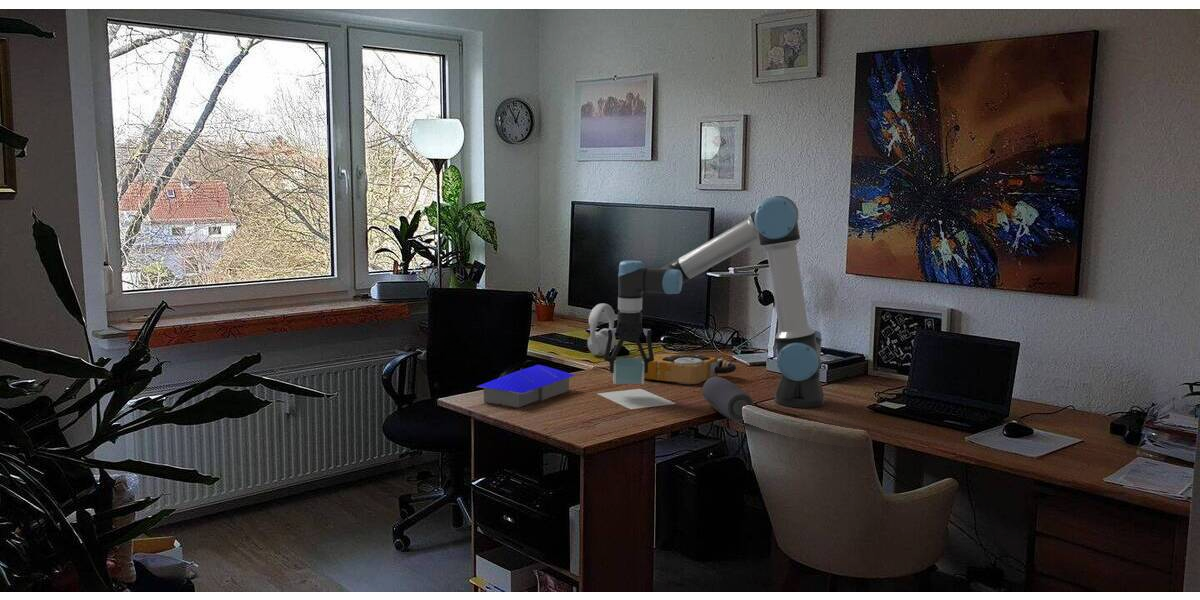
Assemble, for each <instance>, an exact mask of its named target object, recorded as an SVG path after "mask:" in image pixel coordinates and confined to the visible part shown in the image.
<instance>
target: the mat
mask: <svg viewBox="0 0 1200 600" xmlns="http://www.w3.org/2000/svg"><path fill="white" fill-rule="evenodd" d="M597 395H598V396H601V397H603V398H605V399H607V400H610V401H612V402H614V403H616V404H618V405H621V406H622V407H624V408H627V409H629V410H637V409H645V408H651V407H652V408H653V407H659V406H660V407H661V406H669V405H670V406H671V405H675V404H677V403H676V402H673V401H671V400H669V399H666V398H664V397H661V396H659V395H656V394H654V393H652V392H650V391H647V390H645V389H642V388H635V389H626V390H617V391H608V392H600V393H597Z"/></svg>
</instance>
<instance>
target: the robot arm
mask: <svg viewBox="0 0 1200 600" xmlns="http://www.w3.org/2000/svg"><path fill="white" fill-rule="evenodd" d="M798 221H799V209H798V207H797V205H796V203H795V202H794V201H793V200H792V199H790V198H789V197H787V196H784V195H783V196H782V195H775V196H772V197H771V196H770V197H768V198H766V199H763V201H762V202H760V203H759V204H758V206H757V207H756V210H754V211H752V212H750V213H749V214H748V217H747V219H744V220H743V221H741V222H740V223H737V224H736V225H734V226H732V227H731V228H729V229H727V230H726V231H724V232H722V233H720V234H718V235H717V236H715V237H713V238H711V239H710V240H708V241H706V242H704V243H703V244H701V245H700V246H698V247H696V248H694V249H693V250H691V251H689V252H687V253H685V254H684V255H682V256H680V257H678V258H677V259H675V260H673V261H671V262H669V263H668V264H666V265H664V266H663V267H660V268H651V267H649V268H647V267H644V262H643V261H641V260H631V259H630V260H622V261H620V263H619V265H618V273H617V274H618V275H617V277H618V279H617V283H618V284H617V285H618V288H617V290H618V291H617V292H618V293H617V294H618V295H617V310H618V312H617V325H616V327H615V328H614V327H613V329H610V328H609V327H608V328H607V329H608V330H607V331H608V340H607V345H606V350H605V354H604V355H603V358H604V359H603V360H604V361H605V362H609V372H610V374H612V379H613V380H612V383H613V385H617V384H616V358H617V356H618V354H619V351H620V350H621V348H622V346H623V344H624V342H629V341H630V342H635V343H636V345H637V348H638V350H639V353H640V355H641V358H642V357H643V360H644V362H642V364H643V368H642V374H641V382H640V384H641V385H645V380H644V373H647V372H648V363H649V362H651V361H654V351H653V345H652V333H653V332H652V330H651V329H652V328H645V327H644V328H643V324H642V323H643V312H642V310H643V293H646V294H647V293H648V294H649V293H650V294H665V295H666V294H667V295H679V294H680V293H681V291H682V289H683V288H682V287H683V284H684V283H685V282H687V281H690V279H692V278H694V277H696V276H698V275H700V274H701V273H704V272H706V271H707V270H709V269H711V268H713V267H714V266H716V265H717V264H720V263H721V262H723V261H725V260H726V259H728V258H731V257H732V256H734V255H736V254H738V253H739V252H741V251H743V250H745V249H746V248H748V247H750V246H752V245H754V244H755V243H757V242H759V246H760V247H761V248H763V250H765V251H766V256H767V262H768V268H769V274H770V275H769V276H770V281H771V286H772V294H773V298H774V306H775V312H776V318H777V323H778V324H777V325H778V331H777V333H776V334H775V336H774V338H775V347H776V351H777V353H776V354H777V357H776V358H777V359H776V365H777V367H778V370H779V372H780V373H781V378H780V380H779V383H778V386H777V389H776V391H775V394H774V402H775V403H777V404H779V405H781V406H786V407H791V408H798V409H799V408H802V409H803V408H804V409H806V408H807V409H809V408H810V409H811V408H819V407H822V406H824V405H825V394H824V391H823V386H822V382H821V378H820V376H821V374H820V373H821V370H820V369H821V352H822V351H821V350H822V349H821V348H822V342H823V339H822V332H821V331H819V330H815V329H813V328H812V327H810V326H809V320H808V314H807V309H806V303H805V295H804V289H803V283H802V277H801V271H800V263H799V259H798V258H799V257H798V250H797V245H798V243H799V242H800V240H801V237H800V236H801V235H800V230H799V222H798ZM616 333H617V335H618V336H619V338H618V340H617V342H616V344H615V347H614V348H613V350H612V354H611V356H610V353H611V352H610V348H611V343H612V336H614V335H615V336H616ZM643 333H644V336H645V338H646V339H645V340H646V344H647V345H646V346H647V350H648V351H647V352H648V356H647V355H646V352H645V350H644V348H643V346H642V343H641V341H640V336H641V335H642V334H643ZM647 357H648V358H647Z"/></svg>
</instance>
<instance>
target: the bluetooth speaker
mask: <svg viewBox="0 0 1200 600" xmlns="http://www.w3.org/2000/svg"><path fill="white" fill-rule="evenodd" d="M701 391H702V397H704V399H705V401H706V402H707V403H708V404H709V405H710V406H711V407H712V408H713V409H715V410H716V411H717V412H718V414H721V416H722V417H725V419H726V420H727V421H731V422H732V421H734V422H737V423H738V422H744V421H743V417H742V407H743V406H746V405H752V406H755V403H754V400H753V398H752V397H751V396H750V394H748V393H747V392H746V391H745V390H743V389H742V388H741V387H739V385H736V384H735V383H733V382H732V381H730V380H728V379H726V378H724V377H721V376H715V377H711V378H709V379H708V380H705V381H704V384H703V385H702V390H701Z"/></svg>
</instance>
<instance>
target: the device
mask: <svg viewBox="0 0 1200 600" xmlns="http://www.w3.org/2000/svg"><path fill="white" fill-rule="evenodd" d="M653 356H654V361H651V362H649V363H648V372H647V373H644V381H645V380H646V381H653V380H655V381H663V382H670V383H672V382H674V383H677V384H681V385H698V384H700V383H702V382H705V381H707V380H708V379H709V378H711V377H718V374H722V375H723V374H730V373H733V372H735V371H736V369H737V367H736V365H735V364H733V363H732V362H731V361H729V360H724V358H717V357H711V356H703V355H699V354H698V355H697V354H695V355H694V354H687V353H686V354H676V353H661V354H653ZM646 357H647V358H648V357H649V356H646ZM641 358H642V362H644V360H643V357H642V356H641Z"/></svg>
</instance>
